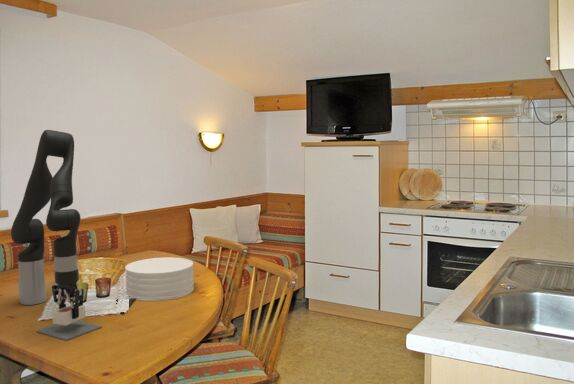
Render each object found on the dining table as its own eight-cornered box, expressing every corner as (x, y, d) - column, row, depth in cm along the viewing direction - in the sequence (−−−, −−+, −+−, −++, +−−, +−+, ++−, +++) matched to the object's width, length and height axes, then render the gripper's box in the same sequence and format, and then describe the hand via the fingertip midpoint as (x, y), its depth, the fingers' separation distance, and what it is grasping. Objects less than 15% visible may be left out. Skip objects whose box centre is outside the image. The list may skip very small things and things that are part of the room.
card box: (72, 315, 188) (72, 303, 188) (85, 316, 186) (84, 305, 186) (53, 323, 180) (52, 311, 180) (65, 325, 178) (65, 313, 178)
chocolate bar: (135, 298, 216) (123, 313, 199) (135, 300, 217) (123, 315, 199) (113, 299, 216) (98, 313, 198) (113, 301, 216) (98, 316, 198)
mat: (36, 331, 182) (36, 330, 182) (71, 319, 193) (71, 318, 193) (66, 340, 173) (66, 339, 173) (101, 327, 185) (101, 326, 185)
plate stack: (115, 290, 230) (114, 264, 229) (173, 278, 249) (172, 254, 247) (145, 305, 209) (144, 277, 208) (206, 291, 228) (205, 265, 227)
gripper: (89, 268, 181) (92, 316, 182) (62, 263, 188) (65, 310, 190) (70, 273, 174) (73, 323, 176) (43, 268, 182) (46, 316, 183)
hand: (69, 316), depth 183 cm, fingers closed on card box, 6 cm apart
